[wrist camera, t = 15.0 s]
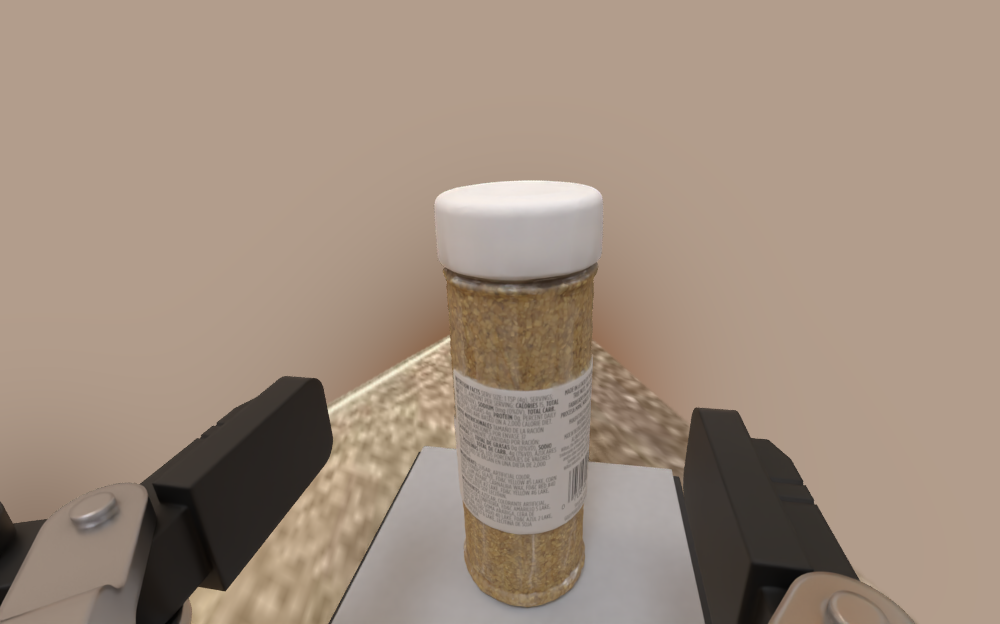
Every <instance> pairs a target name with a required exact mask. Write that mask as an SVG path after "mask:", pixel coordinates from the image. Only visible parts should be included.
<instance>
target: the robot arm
mask: <svg viewBox="0 0 1000 624" xmlns="http://www.w3.org/2000/svg"><path fill="white" fill-rule="evenodd" d="M332 445H333V436H332V430H331V425H330V420H329V414H328V409H327V404H326V399H325V394H324V389H323V386H322V383H321V382H320V381H319V380H318V379H316V378H304V377H303V378H302V377H290V376H284V377H282V378H280V379H278V380H277V381H276V382H275V383H273V384H272V385H271V386H270V387H269V388H267V389H266V390H265V391H264V392H262V393H261V394H260V395H259V396H258V397H256V398H254V399H252V400H250V401H248V402H246V403H244V404H242V405H240V406H238V407H236V408H234V409H233V410H232V411H231V412H229V413H228V414H227V415H226V416H224V417H223V418H222V419H221V420H219V421H218V422H217V425H216V426H212V427H211V428H210V429H208V430H207V431H206V432H204V433H203V434H202V435H201V438H200V439H199V438H197V439H196V440H194V441H193V442H192V443H191V444H190V445H188V446H187V447H186V448H184V449H183V450H182V451H181V452H179V453H178V454H177V455H176V456H174V457H173V458H172V459H171V460H169V461H168V462H167V463H166V464H164V465H163V466H162V467H161V468H159V469H158V470H157V471H156V472H154V473H153V474H152V475H151V476H149V477H148V478H147V479H146V480H144V481H143V482H142V483H141V484H136V483H118V484H113V485H109V486H105V487H101V488H98V489H96V490H93V491H91V492H88V493H86V494H84V495H82V496H79V497H78V498H76V499H74V500H72V501H70V502H69V503H67V504H66V505H64V506H63V507H61V508H60V509H59V510H58V511H56V512H55V513H54V514H53V515H51V516H50V517H49V518H48V519H44V520H36V521H29V522H21V523H14V524H13V523H12V521H11V519H10V517H9V516H8V514H7V512H6V510H5V508H4V506H3V504H2V503H1V502H0V624H191V617H192V607H191V603H190V601H189V597H190V596H191V594H192V593H193V592H194V591H195V590H196V588H197V587H203V588H209V589H215V590H221V591H226V590H227V589H228V587H229V586H230V585H231V584H232V582H233V581H234V580H235V579H236V577H237V576H238V575H239V574H240V572H241V571H242V570H243V568H244V567H245V566H246V565H247V563H248V562H249V561H250V560H251V558H252V557H253V556H254V554H255V553H256V552H257V551H258V549H259V548H260V547H261V546H262V544H263V543H264V542H265V540H266V539H267V538H268V537H269V535H270V534H271V533H272V532H273V530H274V529H275V528H276V526H277V525H278V524H279V523H280V521H281V520H282V519H283V518H284V516H285V515H286V514H287V512H288V511H289V510H290V509H291V507H292V506H293V505H294V504H295V502H296V501H297V500H298V499H299V497H300V496H301V495H302V493H303V492H304V491H305V490H306V488H307V487H308V486H309V485H310V483H311V482H312V481H313V479H314V478H315V477H316V476H317V474H318V473H319V472H320V471H321V469H322V468H323V467H324V465H325V464H326V463H327V461H328V459H329V457H330V454H331V450H332ZM683 489H684V500H685V506H686V511H687V515H688V519H689V524H690V528H691V532H692V537H693V541H694V546H695V550H696V554H697V559H698V563H699V568H700V572H701V576H702V581H703V585H704V590H705V594H706V598H707V603H708V607H709V612H710V616H711V620H712V624H915V622H914V621H913V620H912V619H911V618H910V617H909V616H908V614H907V613H906V612H905V611H904V610H903V609H901V608H900V607H899V606H898V605H897V604H896V603H895V602H893V601H892V600H891V599H889V598H888V597H887V596H885V595H884V594H882V593H881V592H879V591H877V590H876V589H874V588H872V587H871V586H869V585H867V584H865V583H863V582H861V581H860V580H859V578H858V577H857V575H856V573H855V571H854V570H853V568H852V566H851V564H850V563H849V561H848V559H847V557H846V555H845V554H844V552H843V550H842V548H841V547H840V545H839V543H838V542H837V540H836V538H835V536H834V534H833V533H832V531H831V529H830V527H829V526H828V524H827V522H826V520H825V519H824V517H823V515H822V513H821V511H820V510H819V508H818V506H817V505H814V499H813V497H812V496H811V494H810V492H809V490H808V489H807V487H806V485H803V480H802V478H801V477H800V475H799V473H798V471H797V469H796V468H795V466H794V464H793V462H792V460H791V459H790V458H789V457H788V456H787V455H785V454H784V453H783V452H782V451H781V450H780V449H778V448H777V447H776V446H775V445H774V444H773V443H771V442H770V441H769V440H767V439H755V438H751V437H750V435H749V433H748V431H747V429H746V427H745V425H744V423H743V421H742V419H741V417H740V415H739V413H738V412H737V411H736V410H723V409H709V408H695V409H694V410H693V413H692V418H691V424H690V432H689V439H688V446H687V453H686V460H685V467H684V477H683Z"/></svg>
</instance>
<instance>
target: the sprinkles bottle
mask: <svg viewBox="0 0 1000 624" xmlns="http://www.w3.org/2000/svg"><path fill="white" fill-rule="evenodd" d="M434 210H435V211H434V212H435V229H436V242H437V254H438V259H439V262H440V263H441V265H443V266H444V267H445V268H444V269H443V273H444V276H445V278H446V281H447V298H448V310H449V323H450V339H451V343H450V345H451V356H452V370H453V387H454V400H455V406H454V407H455V415H454V423H455V435H456V447H457V460H458V474H459V485H460V493H461V497H462V500H463V508H464V520H465V534H466V538H465V541H464V560H465V563H466V566H467V569H468V572H469V574H470V575H471V577H472V579H473V581H474V582H475V583H476V584H477V586H478V587H479V589H480V590H481V591H483V592H484V593H486V594H488V595H490V596H491V597H493V598H495V599H496V600H498V601H500V602H503V603H507V604H509V605H513V606H523V607H532V606H538V605H543V604H545V603H547V602H550V601H554V600H556V599H558V598H559V597H560V596H562V595H564V594H565V593H566V592H568V591H569V590H570V589H572V587H573V586H574V584H575V582H576V581H577V580H578V578H579V576H580V574H581V569H582V568H583V566H584V561H585V544H584V541H583V514H584V509H583V507H584V501H585V498H586V494H587V475H588V458H589V436H590V413H591V389H592V366H593V357H592V353H591V346H592V344H591V341H592V309H593V296H594V287H593V286H594V283H593V279H594V276H595V275H596V273H597V270H598V263H597V261H598V260H599V259H600V257H601V254H602V238H603V199H602V195H601V193H600V192H599V191H598V190H596V189H595V188H593V187H591V186H587V185H582V184H576V183H568V182H554V181H503V182H492V183H484V184H476V185H470V186H464V187H458V188H455V189H450V190H448V191H446V192H443V193H442V194H440V195H439V196H438V197H437V198H436V201H435V205H434Z"/></svg>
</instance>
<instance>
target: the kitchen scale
mask: <svg viewBox="0 0 1000 624" xmlns="http://www.w3.org/2000/svg"><path fill="white" fill-rule="evenodd" d="M583 509H584V514H583V541H584V544H585V561H584V566H583V568H582V569H581V574H580V576H579V578H578V580H577V581H576V582H575V584H574V586H573V587H572V589H570V590H569V591H568V592H566V593H565V594H564V595H562V596H560V597H559V598H558V599H556V600H554V601H550V602H547V603H545V604H543V605H538V606H532V607H523V606H513V605H509V604H507V603H503V602H500V601H498V600H496V599H495V598H493V597H491V596H490V595H488V594H486V593H484V592H483V591H481V590H480V589H479V587H478V586H477V584H476V583H475V582H474V581H473V579H472V577H471V575H470V574H469V572H468V569H467V566H466V563H465V560H464V541H465V538H466V534H465V520H464V508H463V500H462V497H461V493H460V485H459V474H458V460H457V449H451V448H440V447H430V446H424V447H423V449H422V451H421V452H419V453H418V455H417V457H416V459H415V461H414V463H413V465H412V466H411V468H410V470H409V472H408V474H407V476H406V478H405V480H404V482H403V484H402V485H401V487H400V489H399V491H398V493H397V495H396V497H395V499H394V501H393V503H392V504H391V506H390V508H389V510H388V512H387V514H386V516H385V518H384V520H383V521H382V523H381V525H380V527H379V529H378V531H377V533H376V535H375V537H374V539H373V540H372V542H371V544H370V546H369V548H368V550H367V552H366V554H365V556H364V558H363V559H362V561H361V563H360V565H359V567H358V569H357V571H356V573H355V575H354V576H353V578H352V580H351V582H350V584H349V586H348V588H347V590H346V592H345V594H344V595H343V597H342V599H341V601H340V603H339V605H338V607H337V609H336V611H335V613H334V614H333V616H332V618H331V620H330V622H329V624H712V620H711V616H710V612H709V607H708V603H707V598H706V594H705V590H704V585H703V581H702V576H701V572H700V568H699V563H698V559H697V554H696V550H695V546H694V541H693V537H692V532H691V528H690V524H689V519H688V515H687V511H686V506H685V500H684V495H683V491H682V486H681V482H680V478H679V477H677V476H673V474H672V470H671V469H663V468H652V467H641V466H631V465H620V464H610V463H599V462H589V461H588V475H587V494H586V498H585V501H584V507H583Z"/></svg>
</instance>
